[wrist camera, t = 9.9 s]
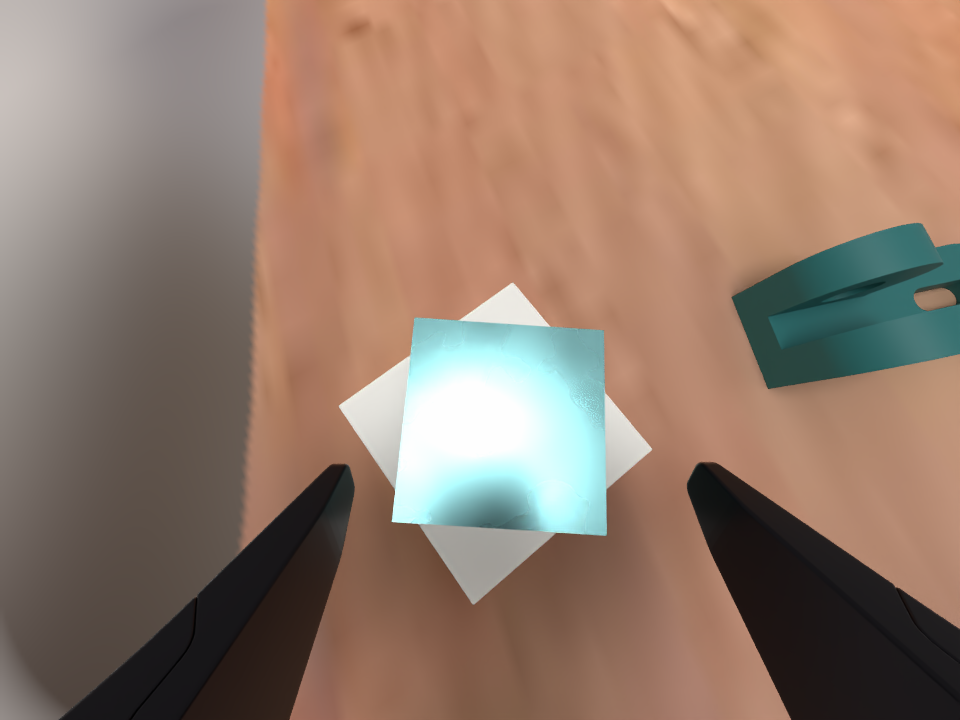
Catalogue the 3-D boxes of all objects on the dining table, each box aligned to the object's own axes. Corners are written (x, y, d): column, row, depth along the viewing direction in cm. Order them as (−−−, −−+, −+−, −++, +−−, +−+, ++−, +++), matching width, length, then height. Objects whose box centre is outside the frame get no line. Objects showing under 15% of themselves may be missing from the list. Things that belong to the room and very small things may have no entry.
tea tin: (539, 485, 19) (606, 535, 10) (432, 478, 19) (392, 521, 10) (542, 380, 21) (603, 330, 11) (442, 373, 21) (414, 317, 11)
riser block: (472, 581, 21) (473, 605, 18) (355, 409, 23) (338, 405, 20) (629, 447, 23) (652, 449, 20) (508, 300, 25) (512, 282, 22)
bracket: (765, 389, 24) (908, 366, 16) (729, 298, 25) (844, 236, 17) (995, 336, 25) (1229, 291, 17) (948, 252, 26) (1146, 176, 19)
